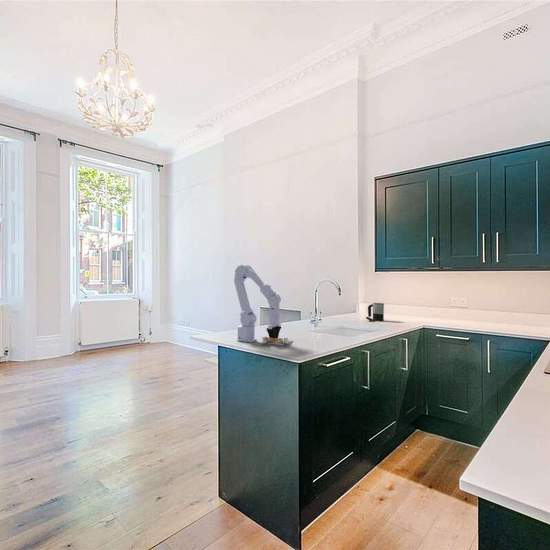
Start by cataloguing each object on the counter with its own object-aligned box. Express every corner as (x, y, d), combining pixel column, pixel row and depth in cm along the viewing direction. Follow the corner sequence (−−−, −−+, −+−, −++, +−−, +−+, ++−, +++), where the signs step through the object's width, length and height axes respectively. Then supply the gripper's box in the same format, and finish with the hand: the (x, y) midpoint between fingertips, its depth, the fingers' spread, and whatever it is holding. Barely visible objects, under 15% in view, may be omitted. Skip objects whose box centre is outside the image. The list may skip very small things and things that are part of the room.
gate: (263, 342, 196) (263, 337, 196) (264, 342, 198) (264, 336, 198) (281, 344, 193) (281, 338, 193) (282, 343, 195) (282, 337, 195)
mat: (260, 345, 194) (260, 344, 194) (268, 340, 209) (268, 339, 209) (287, 347, 190) (287, 346, 190) (293, 341, 205) (293, 341, 205)
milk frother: (384, 320, 302) (384, 303, 302) (382, 322, 288) (382, 304, 288) (367, 319, 308) (367, 302, 308) (364, 321, 293) (365, 303, 293)
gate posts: (261, 345, 193) (261, 338, 193) (262, 344, 196) (262, 337, 196) (287, 346, 192) (287, 338, 192) (287, 345, 195) (287, 337, 195)
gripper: (276, 317, 192) (276, 342, 193) (284, 314, 206) (284, 338, 206) (264, 317, 195) (264, 341, 195) (273, 314, 208) (272, 337, 209)
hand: (273, 340), depth 201 cm, fingers open, 6 cm apart
